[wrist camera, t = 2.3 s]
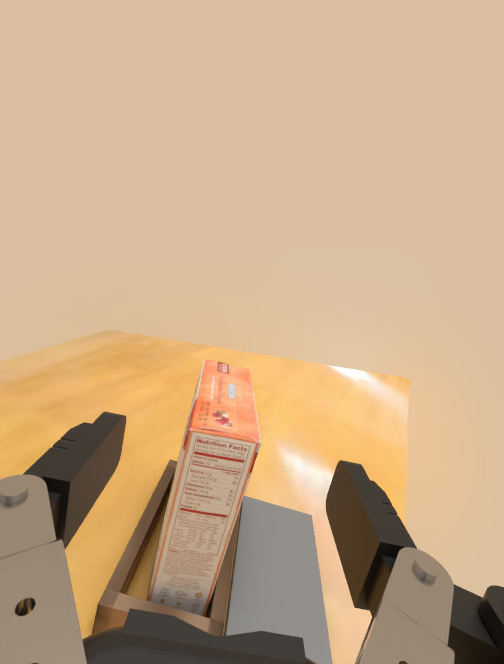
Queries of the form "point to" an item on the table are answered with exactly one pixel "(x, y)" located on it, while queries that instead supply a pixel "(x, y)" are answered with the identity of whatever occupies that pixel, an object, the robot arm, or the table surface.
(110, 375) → the table surface
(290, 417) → the table surface
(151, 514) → the walnut collar
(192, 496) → the cracker box
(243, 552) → the flat gray rectangular board
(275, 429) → the table surface
